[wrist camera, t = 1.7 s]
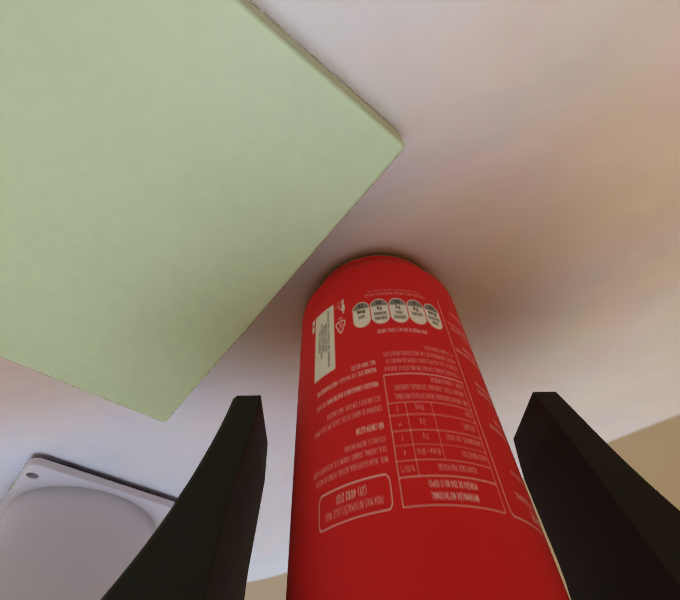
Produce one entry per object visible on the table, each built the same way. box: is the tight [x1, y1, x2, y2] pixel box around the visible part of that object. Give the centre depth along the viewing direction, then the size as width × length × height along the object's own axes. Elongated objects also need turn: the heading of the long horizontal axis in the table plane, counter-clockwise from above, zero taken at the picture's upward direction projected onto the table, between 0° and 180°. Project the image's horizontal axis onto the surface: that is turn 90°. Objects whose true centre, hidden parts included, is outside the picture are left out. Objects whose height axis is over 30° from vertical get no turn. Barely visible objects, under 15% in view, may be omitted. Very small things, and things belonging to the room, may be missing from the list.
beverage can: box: [286, 255, 570, 600], centre depth 11 cm, size 5×5×12 cm
